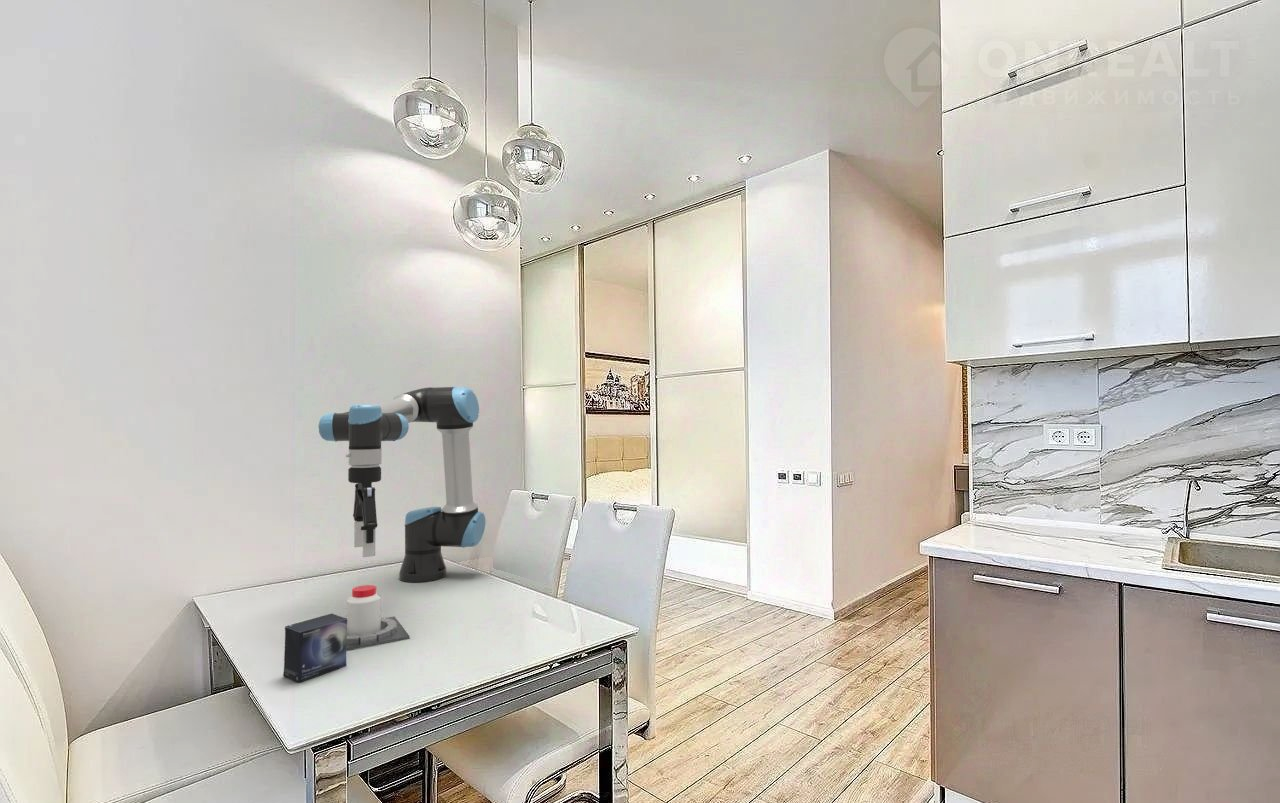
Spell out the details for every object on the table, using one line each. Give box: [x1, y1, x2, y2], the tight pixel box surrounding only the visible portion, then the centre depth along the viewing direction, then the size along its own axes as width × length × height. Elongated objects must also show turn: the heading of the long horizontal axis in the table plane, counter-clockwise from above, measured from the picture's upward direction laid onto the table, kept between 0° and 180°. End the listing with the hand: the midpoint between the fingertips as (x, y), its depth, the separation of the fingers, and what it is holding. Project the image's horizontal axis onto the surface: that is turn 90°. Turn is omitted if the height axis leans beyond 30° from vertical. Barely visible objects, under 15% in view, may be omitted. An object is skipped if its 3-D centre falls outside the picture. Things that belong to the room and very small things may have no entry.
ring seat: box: [347, 615, 411, 651], centre depth 151 cm, size 18×18×2 cm
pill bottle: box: [346, 584, 382, 636], centre depth 151 cm, size 8×8×11 cm
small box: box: [282, 613, 348, 683], centre depth 129 cm, size 11×6×10 cm, turn 148°
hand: (364, 551), depth 151 cm, fingers open, 13 cm apart
